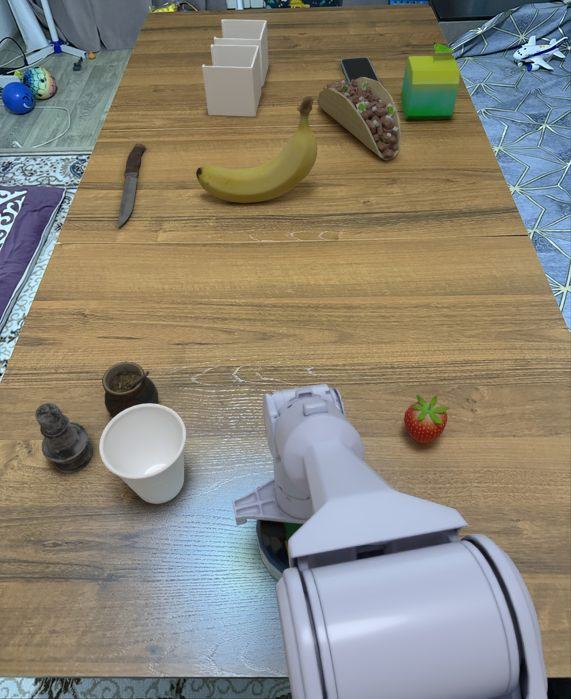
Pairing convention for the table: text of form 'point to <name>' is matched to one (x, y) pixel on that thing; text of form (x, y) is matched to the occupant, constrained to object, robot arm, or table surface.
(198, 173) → the banana
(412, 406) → the fruit
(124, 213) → the knife
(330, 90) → the taco
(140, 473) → the cup
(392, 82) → the table surface
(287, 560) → the bowl
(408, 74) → the leaf-topped green cube
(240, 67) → the storage container
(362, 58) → the smartphone
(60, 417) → the chess piece
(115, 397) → the mate gourd
